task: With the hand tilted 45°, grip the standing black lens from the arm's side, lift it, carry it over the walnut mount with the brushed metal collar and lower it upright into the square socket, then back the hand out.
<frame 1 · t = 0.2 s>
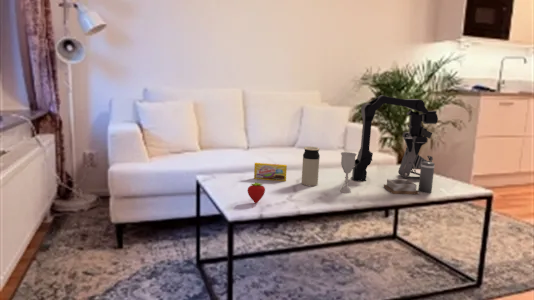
hand: (413, 153, 224), 15 cm above the table, tool pointing down, fingers open, 8 cm apart
chalice: (345, 191, 200), on the table
travel mug: (309, 184, 211), on the table
camera: (414, 177, 236), on the table, touching gripper
candy box: (269, 180, 216), on the table
mount: (400, 190, 207), on the table
strawberry: (255, 203, 176), on the table
lens: (424, 191, 208), on the table
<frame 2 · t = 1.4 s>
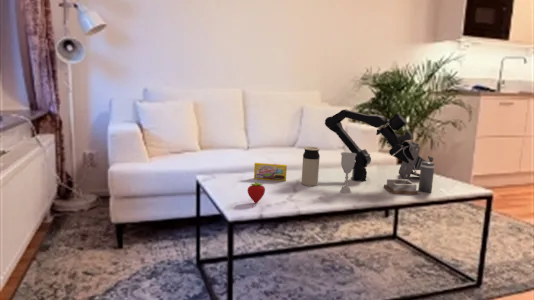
hand: (411, 161, 209), 13 cm above the table, tool tilted 45°, fingers open, 9 cm apart
camera: (415, 177, 236), on the table
everything else where it was.
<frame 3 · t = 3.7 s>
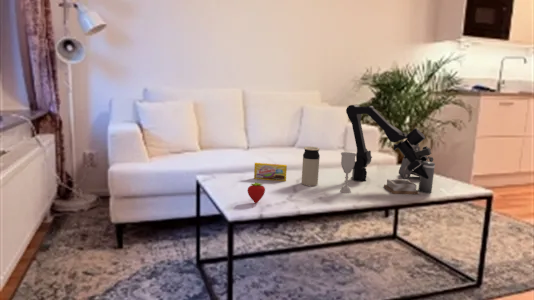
hand: (429, 177, 206), 7 cm above the table, tool tilted 45°, fingers closed on lens, 6 cm apart
lens: (424, 191, 208), on the table, touching gripper
everything else where it was.
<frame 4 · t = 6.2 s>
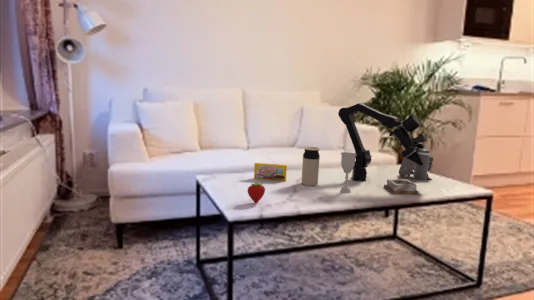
hand: (424, 164, 204), 13 cm above the table, tool tilted 45°, fingers closed on lens, 6 cm apart
lens: (419, 178, 206), point 6 cm above the table, touching gripper
everything else where it was.
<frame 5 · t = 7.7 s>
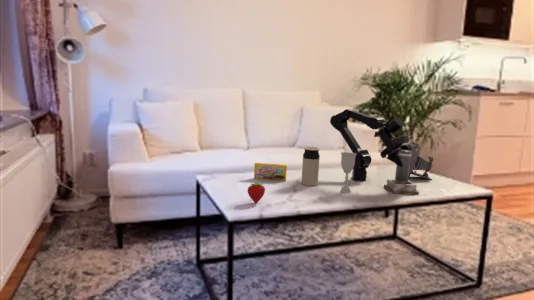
hand: (405, 165, 203), 12 cm above the table, tool tilted 45°, fingers closed on lens, 6 cm apart
lens: (401, 179, 206), point 5 cm above the table, touching gripper
everything else where it was.
when the fingers open (9 cm above the table, at t = 8.8 s): lens stays where it is, resting on mount.
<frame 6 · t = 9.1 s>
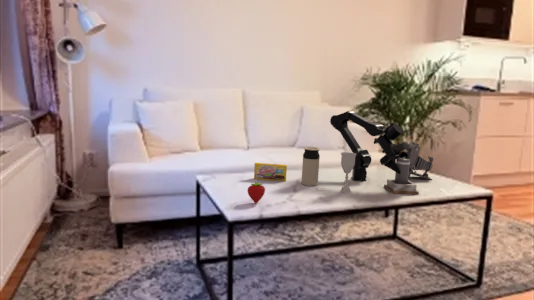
hand: (405, 172, 204), 9 cm above the table, tool tilted 45°, fingers open, 9 cm apart
lens: (400, 187, 206), point 1 cm above the table, touching mount
everything else where it was.
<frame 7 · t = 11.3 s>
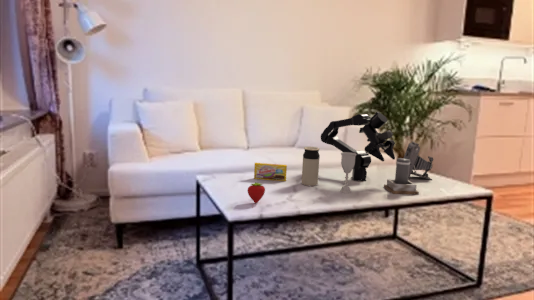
hand: (389, 160, 210), 13 cm above the table, tool tilted 45°, fingers open, 9 cm apart
nothing on the table moved.
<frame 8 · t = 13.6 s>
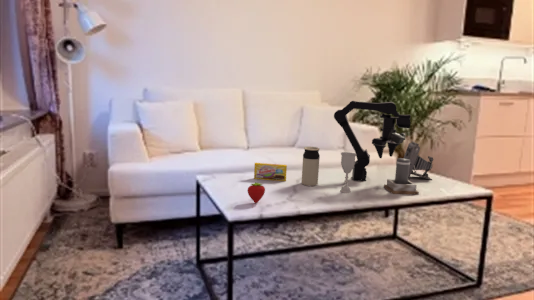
hand: (385, 157, 220), 13 cm above the table, tool pointing down, fingers open, 9 cm apart
nothing on the table moved.
at the end: lens 0.1 cm off-centre on the mount, point 1.2 cm above the mount's base; lens tilted 0°; the gripper is holding nothing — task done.
